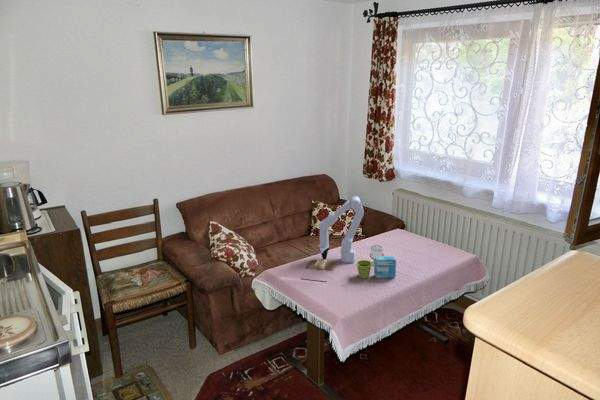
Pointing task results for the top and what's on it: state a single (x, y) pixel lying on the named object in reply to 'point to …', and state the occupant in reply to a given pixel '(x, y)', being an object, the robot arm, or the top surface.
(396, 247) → the top surface
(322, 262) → the birch block
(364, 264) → the plant pot
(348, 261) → the robot arm
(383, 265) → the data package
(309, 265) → the walnut board
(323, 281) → the charcoal mat
